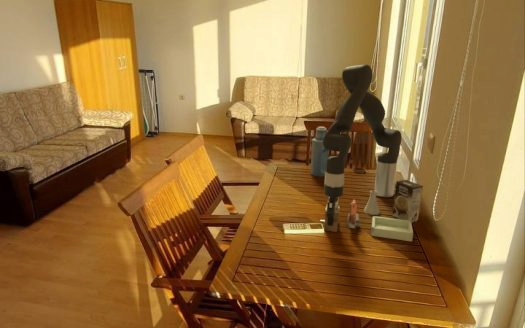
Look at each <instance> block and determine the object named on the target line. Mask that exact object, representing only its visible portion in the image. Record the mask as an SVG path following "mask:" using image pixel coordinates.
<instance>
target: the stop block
mask: <svg viewBox="0 0 525 328" xmlns="http://www.w3.org/2000/svg"><path fill="white" fill-rule="evenodd" d="M340 207H341V206H340V205H338V206H336V212H334V219H333V226H328V225H327V221H328V217H327V205H326V206H325V208H324V220H325V222H323V224H324V226H323V230H324V231H326V232H333V233H334V232H335V233H336V232H338V228H339V219H340ZM329 214H332V212H329Z"/></svg>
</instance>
